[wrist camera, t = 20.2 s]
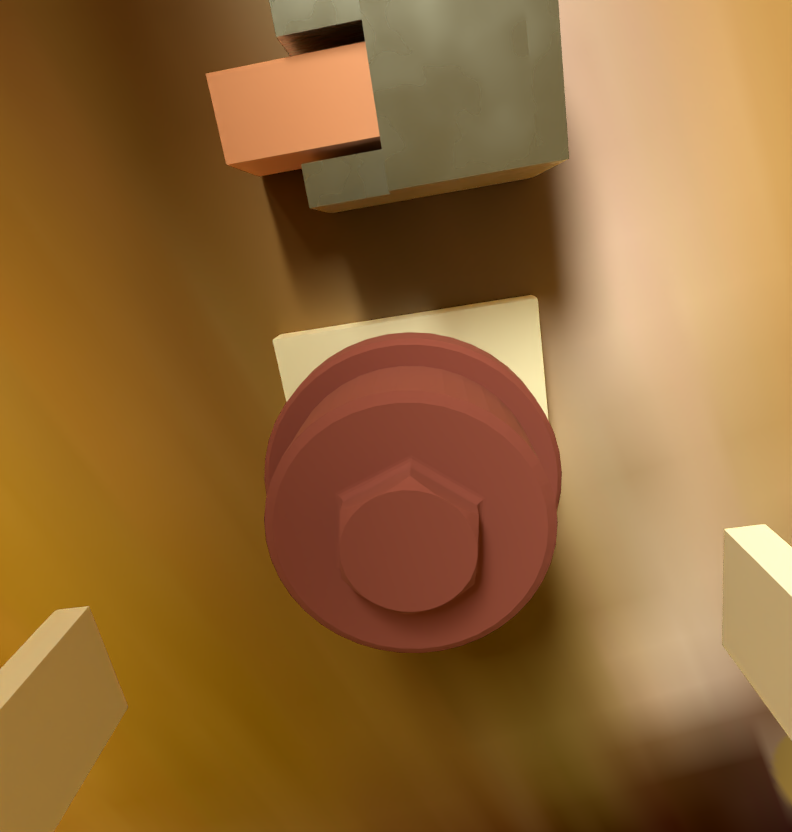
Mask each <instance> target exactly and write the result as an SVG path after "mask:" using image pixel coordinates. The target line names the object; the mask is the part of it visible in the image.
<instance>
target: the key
mask: <svg viewBox="0 0 792 832" xmlns="http://www.w3.org/2000/svg"><path fill="white" fill-rule="evenodd" d="M206 78H207V82H208V86H209V91H210V95H211V99H212V104H213V108H214V113H215V117H216V121H217V126H218V130H219V134H220V139H221V143H222V147H223V152H224V156H225V160H226V165H228V166H231V167H234V168H237V169H240V170H242V171H245V172H248V173H251V174H254V175H256V176H264V175H269V174H275V173H280V172H286V171H291V170H297V169H302V167H301V164H304V163H310V162H315V161H320V160H326V159H331V158H337V157H342V156H348V155H353V154H358V153H364V152H369V151H375V150H380V149H382V147H381V140H380V134H379V127H378V121H377V115H376V108H375V102H374V95H373V89H372V82H371V76H370V69H369V63H368V57H367V50H366V44H365V41H364V42H359V43H355V44H350V45H345V46H340V47H335V48H330V49H325V50H320V51H315V52H310V53H305V54H300V55H295V56H290V57H285V58H280V59H275V60H271V61H266V62H261V63H256V64H251V65H246V66H241V67H236V68H231V69H226V70H221V71H216V72H211V73H206Z"/></svg>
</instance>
